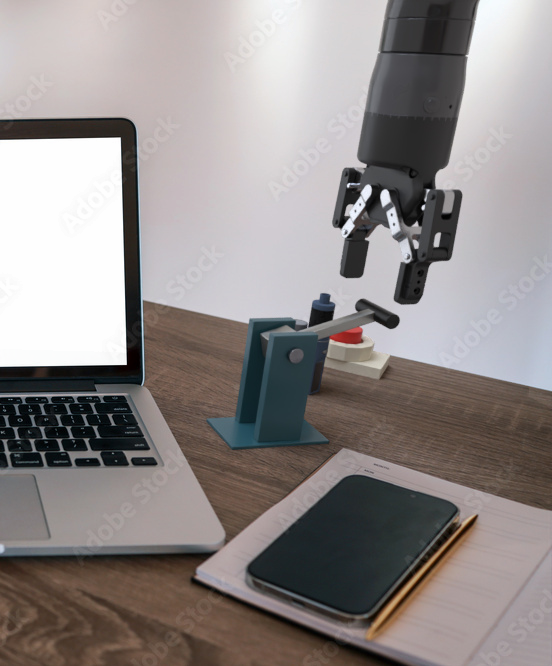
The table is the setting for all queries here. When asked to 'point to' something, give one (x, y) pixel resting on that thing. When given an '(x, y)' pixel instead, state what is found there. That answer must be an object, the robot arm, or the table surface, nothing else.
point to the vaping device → (319, 314)
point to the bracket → (272, 390)
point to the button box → (357, 358)
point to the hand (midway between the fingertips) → (376, 289)
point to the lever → (343, 322)
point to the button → (349, 336)
